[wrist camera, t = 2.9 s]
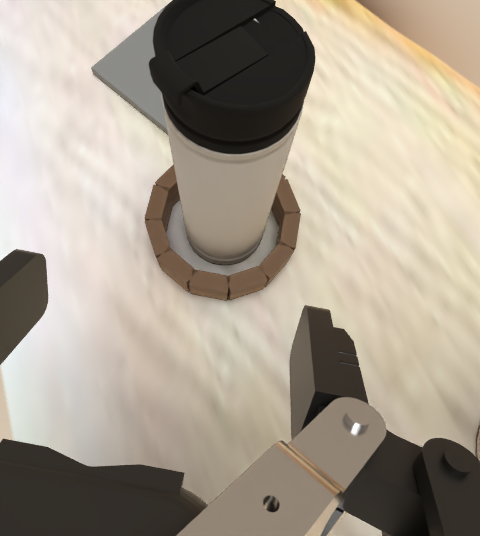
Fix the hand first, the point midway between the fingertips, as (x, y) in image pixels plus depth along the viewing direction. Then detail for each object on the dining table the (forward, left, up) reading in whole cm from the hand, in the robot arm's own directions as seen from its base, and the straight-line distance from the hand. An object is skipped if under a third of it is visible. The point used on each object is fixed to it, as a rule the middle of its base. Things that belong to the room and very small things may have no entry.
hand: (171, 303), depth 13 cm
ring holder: (+5, -9, -19) cm, 22 cm away
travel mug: (+5, -9, -20) cm, 22 cm away
